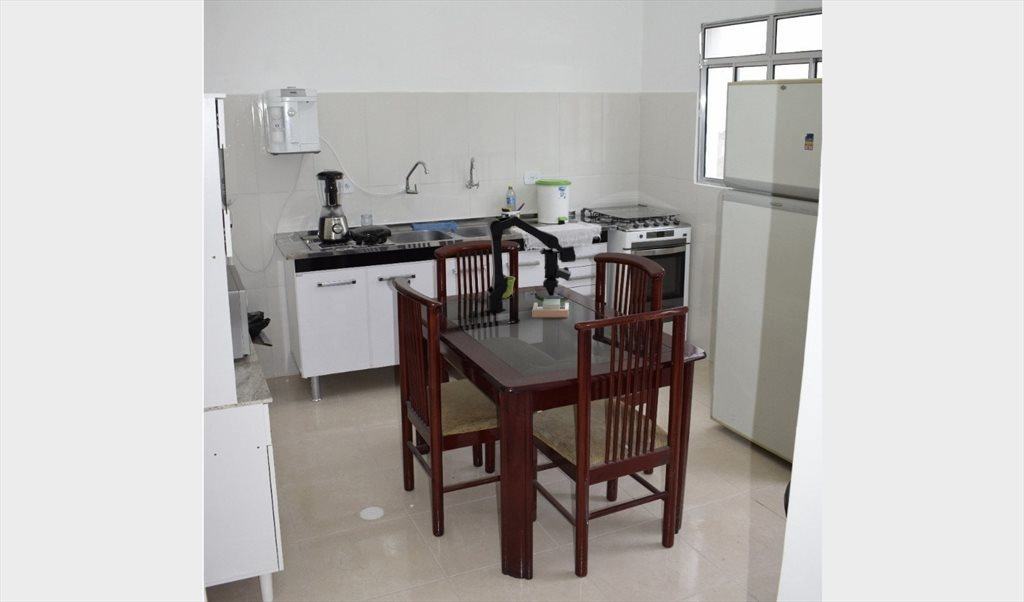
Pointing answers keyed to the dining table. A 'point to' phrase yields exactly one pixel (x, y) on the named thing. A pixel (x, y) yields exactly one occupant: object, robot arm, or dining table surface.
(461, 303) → the dining table surface
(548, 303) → the pale green box
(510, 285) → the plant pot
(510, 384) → the dining table surface
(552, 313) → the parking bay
